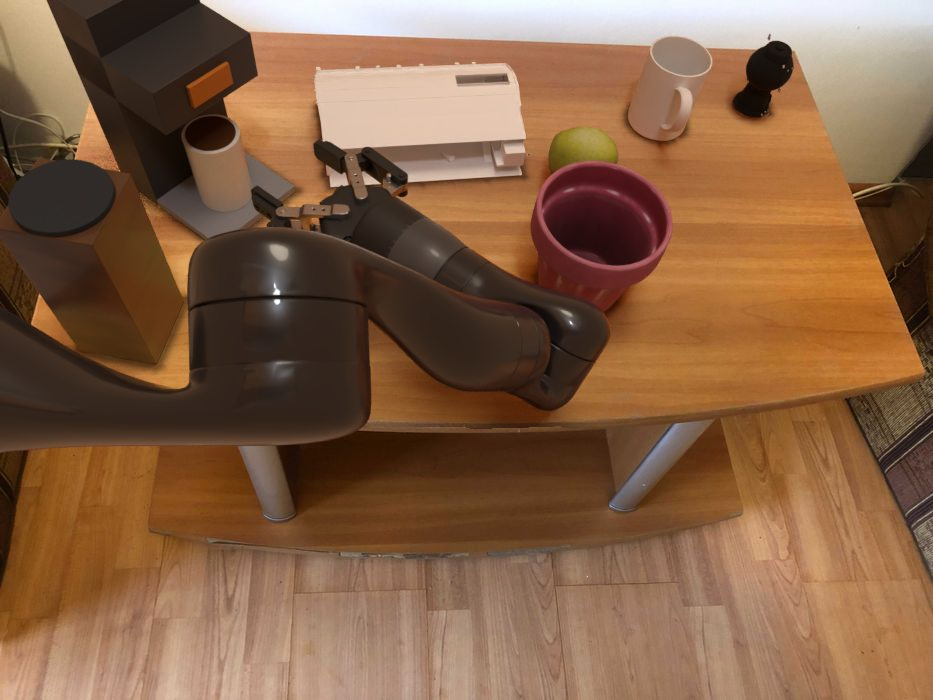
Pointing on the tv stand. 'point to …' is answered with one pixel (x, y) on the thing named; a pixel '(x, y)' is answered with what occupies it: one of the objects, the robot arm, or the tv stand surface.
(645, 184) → the flower pot
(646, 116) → the mug
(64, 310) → the brown box
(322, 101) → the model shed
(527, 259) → the tv stand surface
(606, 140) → the apple
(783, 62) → the gumball machine
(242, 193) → the white cup
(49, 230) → the coaster
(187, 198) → the coffee machine
